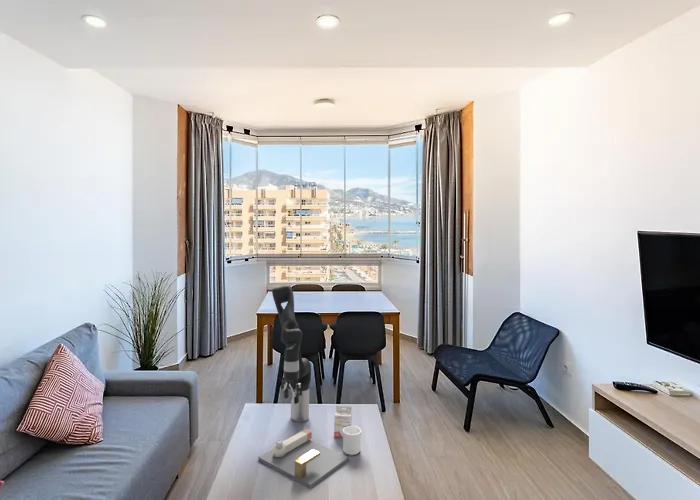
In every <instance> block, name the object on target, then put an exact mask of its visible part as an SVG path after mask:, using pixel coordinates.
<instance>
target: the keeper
mask: <svg viewBox="0 0 700 500" xmlns="http://www.w3.org/2000/svg"><path fill="white" fill-rule="evenodd" d="M318 456H320V452H318V451H316V450H314V449H312V450H311V451H309V452H308V453H306V454H304V455H303V456H301V457H300V458H298V459H296V460H295V476H297V477H299V478H301V479H302V478H304V477H305V476H306V464H308V463H309V462H311V461H312V460H314V459H315V458H317V457H318Z"/></svg>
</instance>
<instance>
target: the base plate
mask: <svg viewBox="0 0 700 500" xmlns="http://www.w3.org/2000/svg"><path fill="white" fill-rule="evenodd" d="M312 449H314V450H316V451H318V452H320V456H318V457H317V458H315V459H314V460H312V461H311V462H309V463H308V464H306V476H305V477H304V478H302V479H301V478H299V477H297V476H295V460H296V459H298V458H300V457H301V456H303V455H304V454H306V453H308V452H309V451H311V450H312ZM349 457H350V456H348V455H346V454H342V453H340V452H338V451H335V450H333V449H332V448H329V447H327V446H324V445H322V444H320V443H318V442H316V441H313V440H312V439H310V440H308V441H306V442H304V443H303V444H301V445H299V446H298V447H296V448H294V449H292V450H291V451H289V452H287V453H286V454H285V455H284V456H283V457H274V456H273V448H272V449H271V450H268V451H267V452H265V453H263V454H262V455H260V456H258V461H259V462H261V463H262V464H264V465H266V466H268V467H270V468H272V469H274V470H276V471H278V472H279V473H281V474H283V475H285V476H287V477H289V478H290V479H292V480H294V481H296V482H298V483H300V484H301V485H303V486H306V487H308V488H309V489H312V487H314V486H315V485H317V484H318V483H320V482H321V481H322V480H324V479H325V478H326V477H328V476H329V475H331V474H332V473H334V472H335V471H336V470H338V469H339V468H341V467H342V466H343V465H344V464H346V463H347V462H349V460H350V459H349Z"/></svg>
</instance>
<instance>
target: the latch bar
mask: <svg viewBox="0 0 700 500" xmlns="http://www.w3.org/2000/svg"><path fill="white" fill-rule="evenodd" d="M312 432H313V431H312V430H309V429H307V428H304V429H303V430H300V431H299V432H298V433H296V434H294V435H292V436H291V437H288V438H286V439H285V440H283V441H282V440H277V441H276V442H275V444H274V445H273V446H272V449H273V456H274V457H283V456H284V455H285V454H286V453H287V452H289V451H291V450H292V449H294V448H296V447H298V446H299V445H301V444H303V443H304V442H306V441H308V440H312V436H313V435H312V434H313V433H312Z"/></svg>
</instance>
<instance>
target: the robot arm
mask: <svg viewBox="0 0 700 500" xmlns="http://www.w3.org/2000/svg"><path fill="white" fill-rule="evenodd" d="M271 293H272V294H271V295H272V297H273V301H274V305H275V308H276V311H277V314H278V319H279V324H280V327H281V334H280V341H281V342H282V343H283V344H284V345H285V347H286V348H285V349H284V351H283V352H284V353H283V354H284V361H283V376H281V381H280V382H281V384H280V385H281V387H280V388H281V389H282V390H283V397H284V399H288V398H289V393H290V392H289V390H290V391H291V393H292V399H291V401H290V419H292V421H293V422H298V423H302V422H306V421H308V420H309V417H310V385H311V379H312V365H311V362H310V360H309V359H307V358H305V357H302V353H301V343H302V339H303V332H302V330H301V329H300V328H299V324H298V322H297V321H296V319H297V318H296V314H295V300H294V299H295V297H294V292H293V289H292V286H291V285H290V284H284V285H281V286H280V285H279V286H277V287H274V288H272V291H271ZM283 303H286V305H285V306H283V305H282V304H283Z"/></svg>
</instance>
